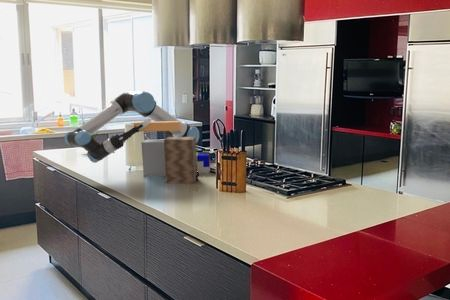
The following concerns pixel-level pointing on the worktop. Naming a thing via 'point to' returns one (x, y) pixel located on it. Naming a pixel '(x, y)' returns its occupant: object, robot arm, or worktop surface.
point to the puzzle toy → (203, 162)
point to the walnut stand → (180, 159)
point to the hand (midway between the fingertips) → (149, 121)
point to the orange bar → (161, 126)
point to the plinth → (153, 158)
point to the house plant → (95, 135)
